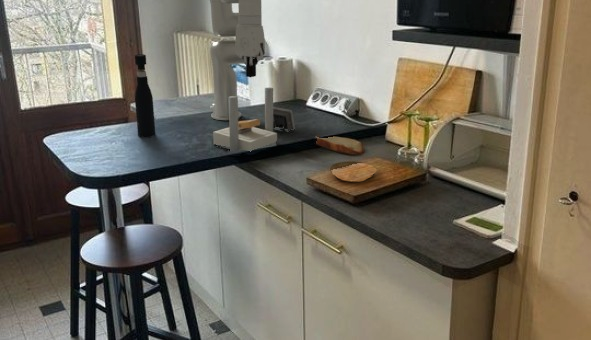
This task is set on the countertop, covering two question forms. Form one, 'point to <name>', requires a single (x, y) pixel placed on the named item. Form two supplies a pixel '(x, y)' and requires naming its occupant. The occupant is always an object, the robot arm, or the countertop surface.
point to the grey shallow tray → (246, 138)
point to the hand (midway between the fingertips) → (251, 76)
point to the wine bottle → (143, 101)
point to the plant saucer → (342, 164)
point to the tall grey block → (269, 109)
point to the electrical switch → (283, 118)
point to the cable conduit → (233, 123)
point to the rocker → (248, 123)
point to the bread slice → (341, 145)
